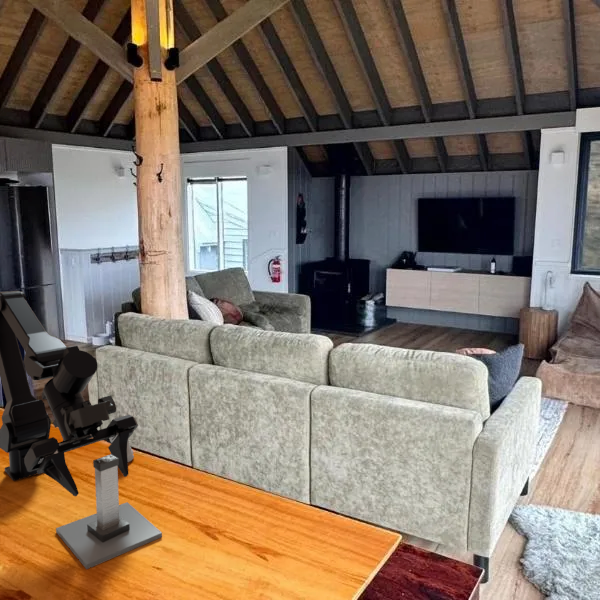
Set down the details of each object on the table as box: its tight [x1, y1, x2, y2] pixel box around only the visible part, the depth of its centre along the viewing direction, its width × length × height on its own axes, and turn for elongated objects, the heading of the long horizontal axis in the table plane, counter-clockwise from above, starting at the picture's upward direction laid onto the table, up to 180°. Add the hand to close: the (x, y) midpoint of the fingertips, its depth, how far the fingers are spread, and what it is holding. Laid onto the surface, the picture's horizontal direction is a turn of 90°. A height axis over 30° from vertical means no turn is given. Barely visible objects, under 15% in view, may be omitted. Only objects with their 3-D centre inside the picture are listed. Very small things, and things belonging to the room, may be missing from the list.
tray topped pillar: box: [87, 453, 130, 543], centre depth 93 cm, size 5×5×13 cm
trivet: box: [55, 501, 163, 570], centre depth 95 cm, size 13×13×1 cm
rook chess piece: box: [127, 437, 135, 463], centre depth 122 cm, size 4×4×8 cm
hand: (102, 485), depth 94 cm, fingers open, 9 cm apart
